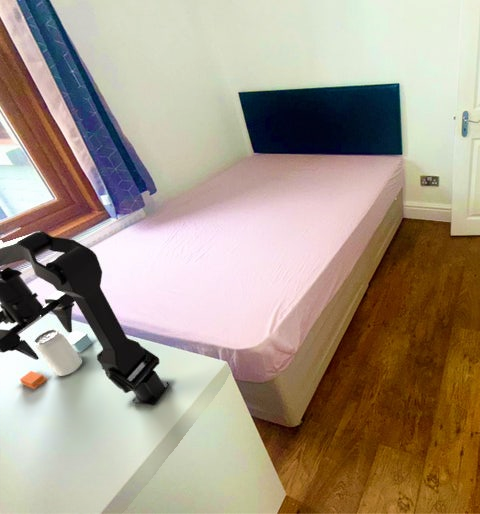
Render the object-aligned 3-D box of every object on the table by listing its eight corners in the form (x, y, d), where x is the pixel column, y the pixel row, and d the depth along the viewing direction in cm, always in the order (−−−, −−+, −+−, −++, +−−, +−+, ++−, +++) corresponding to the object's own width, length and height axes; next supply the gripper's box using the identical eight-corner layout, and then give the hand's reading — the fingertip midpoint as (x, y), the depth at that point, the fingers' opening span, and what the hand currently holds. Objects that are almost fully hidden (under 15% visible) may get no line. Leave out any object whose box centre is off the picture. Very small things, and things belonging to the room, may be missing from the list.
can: (70, 377, 98) (45, 345, 92) (52, 376, 99) (26, 345, 93) (88, 359, 103) (65, 327, 97) (70, 358, 105) (47, 327, 99)
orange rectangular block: (47, 379, 99) (43, 374, 98) (35, 389, 96) (31, 384, 95) (35, 375, 101) (31, 370, 100) (23, 384, 99) (18, 379, 98)
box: (93, 342, 109) (87, 333, 107) (79, 353, 106) (73, 344, 104) (80, 339, 112) (74, 330, 110) (67, 349, 109) (60, 341, 107)
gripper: (31, 271, 91) (65, 318, 99) (-52, 320, 77) (-4, 371, 84) (60, 271, 87) (93, 320, 95) (-21, 323, 73) (26, 376, 80)
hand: (54, 345), depth 89 cm, fingers open, 9 cm apart
